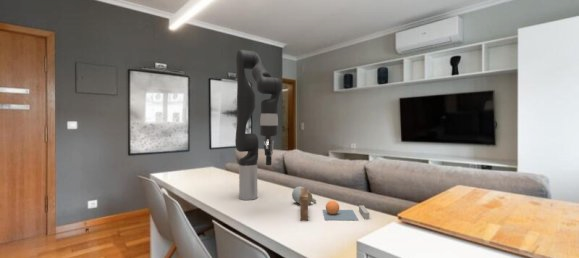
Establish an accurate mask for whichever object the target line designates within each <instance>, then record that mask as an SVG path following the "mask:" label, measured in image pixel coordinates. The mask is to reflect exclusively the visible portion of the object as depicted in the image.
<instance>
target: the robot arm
mask: <svg viewBox="0 0 579 258" xmlns="http://www.w3.org/2000/svg"><path fill="white" fill-rule="evenodd" d="M235 64H236V77H237V79H236V80H237V83H236V84H237V86H236V88H237V89H236V90H237V91H236V129H235V130H236V131H235V141H234V142H235V149H236V151H238V152H240V153H244V152H247V153H246V155H244V156H243V157H241V158H240V159H239V160H238V166H239V167H238V172H239V173H238V174H239V175H238V183H239V184H238V185H239V190H238V191H239V193H238V194H239V195H238V196H239V199H240V200H243V201H252V200H255V199H258V161H259V144H260V143H259V137H258V135H257V134H256V133H253V132H252V133H246V129H247V126H248V125H247V124H248V122H249V120H250V119H251V117H252V115H253V114H254V112H255V109H256V93H255V91H254V90H253V88H252V86H251V85H250V83H249V82H248V78H247V76H246V73H245V70H251V76H252V78H253V80H254V81H255V82H256V90H257V91H258V92H259V93H260V94H263V95H264V94H265V95H271V96H270V98H268V99H263V100H261V102H260V118H259V119H260V121H259V122H260V124H259V135H260V136H262V137H265V139H264V140H263V149H264V150H263V151H264V156H265V165H266V166H271V165H272V157H273V153H274V145H275V139H273V137H277V136H278V135H279V134H278V133H279V118H278V104H279V99H280V95H281V92H282V88H283V85H282V80H281V79H280V78H279V77H272V75H271V73H270V72H269V71H268V70H267V68H266V67H265V66H264V63H263V61H262V59H261V57H260V55H259V53H258V52H257V51H254V50H247V49H239V50H237V52H236V58H235Z"/></svg>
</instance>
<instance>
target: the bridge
mask: <svg viewBox="0 0 579 258" xmlns="http://www.w3.org/2000/svg"><path fill="white" fill-rule="evenodd" d="M308 191H309V190H308V188H305V187H303V188H301V189H300V204H299V209H300V211H299V212H300V215H299V216H300V220H299V221H301V222H307V221H309V205H308Z"/></svg>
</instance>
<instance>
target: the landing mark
mask: <svg viewBox="0 0 579 258" xmlns="http://www.w3.org/2000/svg"><path fill="white" fill-rule="evenodd" d="M322 214H323V218H324V221H359V218H358V217H357V215H356V213H355V211H354V209H339V211H338V213H336V214H329V213H328V212H327V210H326V209H322Z"/></svg>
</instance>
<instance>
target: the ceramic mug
mask: <svg viewBox="0 0 579 258" xmlns="http://www.w3.org/2000/svg"><path fill="white" fill-rule="evenodd" d="M301 188H304V187H303V186H296V187H295V188H293V190H292V194H291V198H292V199H293V200H294V202H296V203H297V204H299V205H300V189H301ZM316 202H317V200H316V199H315V198H313V195H312V193H311V191H309V190H308V206H309V205H310V204H311V203H312V204H316Z"/></svg>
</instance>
